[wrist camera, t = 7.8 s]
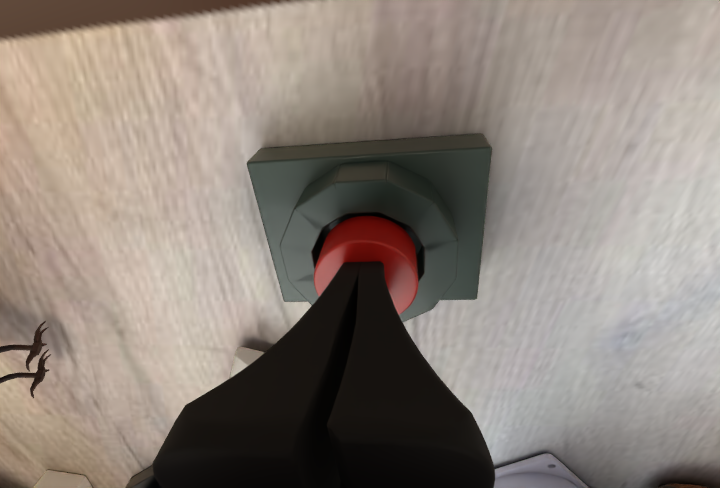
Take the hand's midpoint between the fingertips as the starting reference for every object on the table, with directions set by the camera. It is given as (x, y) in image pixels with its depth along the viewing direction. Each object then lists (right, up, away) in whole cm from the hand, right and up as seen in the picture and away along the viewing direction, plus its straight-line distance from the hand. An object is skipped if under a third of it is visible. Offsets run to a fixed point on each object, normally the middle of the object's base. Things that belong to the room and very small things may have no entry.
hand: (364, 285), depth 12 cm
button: (0, +1, +1) cm, 2 cm away
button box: (0, +3, +4) cm, 5 cm away
